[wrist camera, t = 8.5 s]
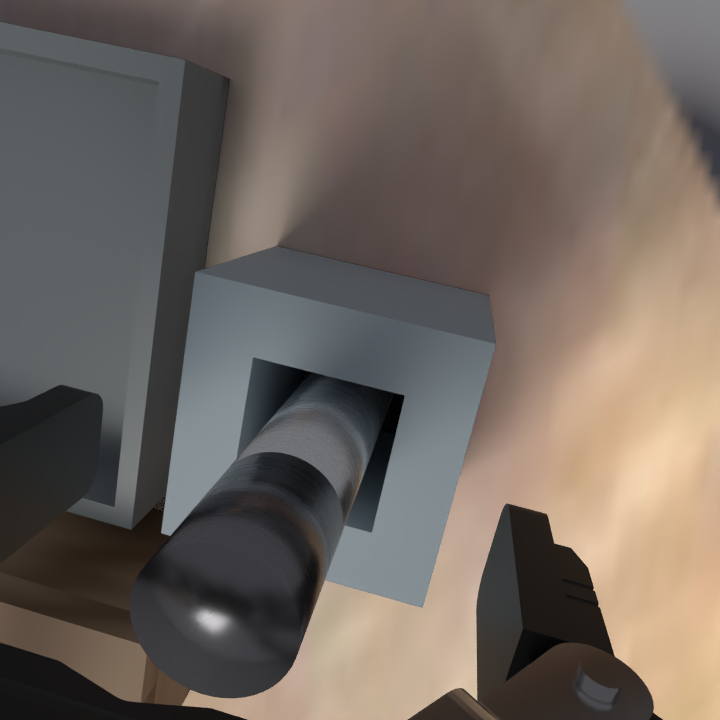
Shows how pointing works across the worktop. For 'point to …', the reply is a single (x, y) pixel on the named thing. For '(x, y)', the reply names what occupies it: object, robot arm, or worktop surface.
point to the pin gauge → (259, 545)
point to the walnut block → (86, 603)
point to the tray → (104, 240)
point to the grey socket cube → (346, 362)
